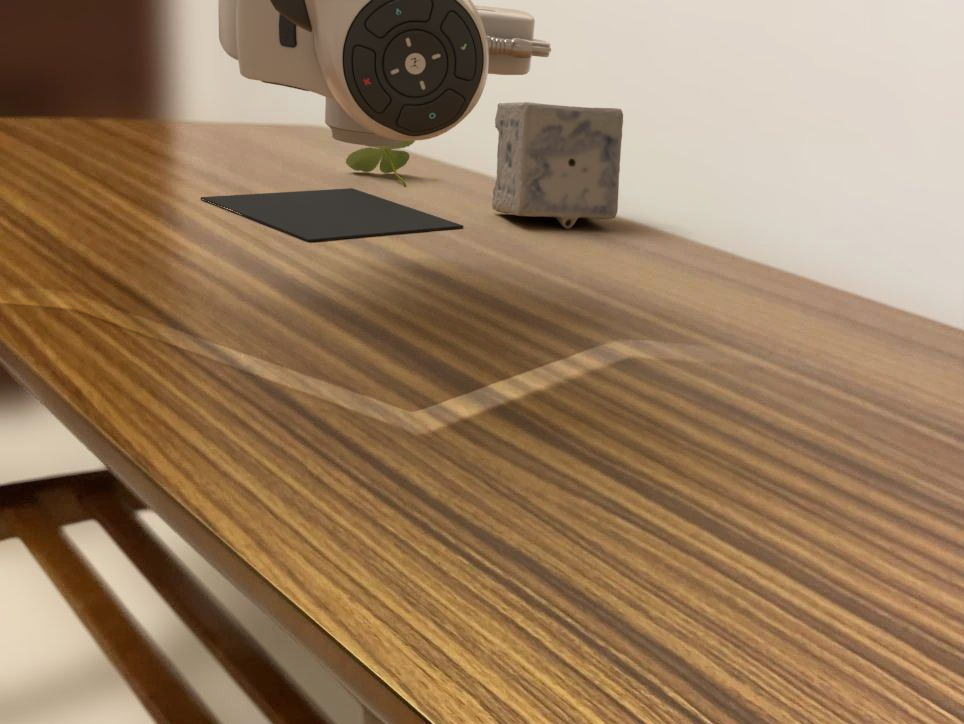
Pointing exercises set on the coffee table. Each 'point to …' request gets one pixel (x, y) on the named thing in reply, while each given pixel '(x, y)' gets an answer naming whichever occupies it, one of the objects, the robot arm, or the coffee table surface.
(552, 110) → the incense holder
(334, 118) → the energy drink can
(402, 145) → the green leafy sprig
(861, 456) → the coffee table surface
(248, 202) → the mat
